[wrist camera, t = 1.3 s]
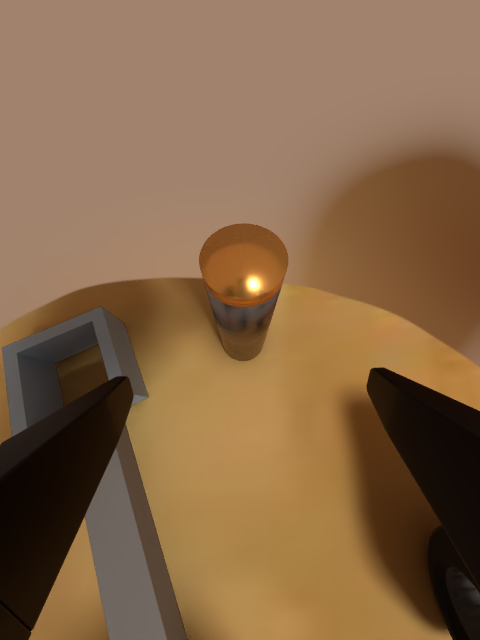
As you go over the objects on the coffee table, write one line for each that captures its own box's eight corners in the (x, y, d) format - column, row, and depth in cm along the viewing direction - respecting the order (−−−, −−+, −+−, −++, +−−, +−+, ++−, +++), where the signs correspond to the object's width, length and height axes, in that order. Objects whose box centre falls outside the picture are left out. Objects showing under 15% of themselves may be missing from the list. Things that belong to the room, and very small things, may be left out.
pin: (249, 369, 21) (258, 314, 9) (214, 346, 22) (181, 269, 10) (270, 335, 23) (304, 246, 10) (237, 314, 23) (231, 211, 11)
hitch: (225, 624, 15) (219, 694, 11) (105, 708, 14) (55, 817, 10) (123, 323, 23) (101, 306, 19) (42, 358, 22) (1, 347, 18)
